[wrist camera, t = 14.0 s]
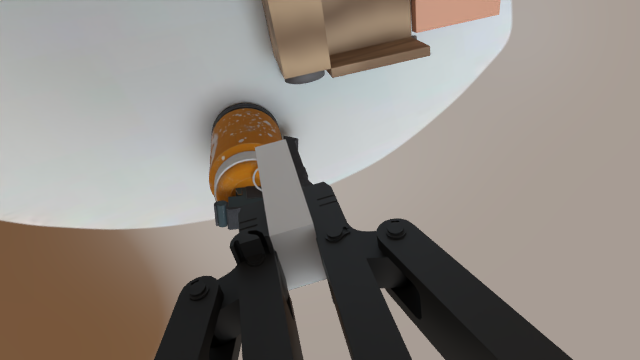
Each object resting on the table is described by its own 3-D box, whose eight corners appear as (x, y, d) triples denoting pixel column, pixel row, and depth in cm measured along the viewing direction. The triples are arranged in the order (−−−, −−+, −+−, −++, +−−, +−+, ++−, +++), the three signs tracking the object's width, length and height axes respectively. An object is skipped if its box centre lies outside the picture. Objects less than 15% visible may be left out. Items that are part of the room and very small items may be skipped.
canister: (209, 102, 50) (201, 181, 33) (294, 100, 52) (327, 174, 36) (214, 164, 55) (210, 261, 38) (293, 160, 57) (322, 250, 40)
